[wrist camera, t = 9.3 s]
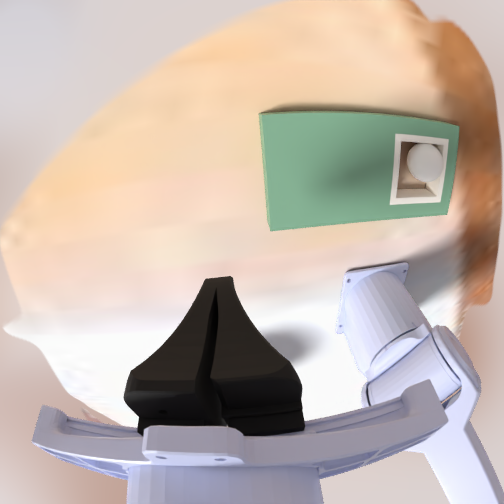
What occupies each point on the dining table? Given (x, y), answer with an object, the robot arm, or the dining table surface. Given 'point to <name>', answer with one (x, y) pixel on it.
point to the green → (348, 167)
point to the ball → (425, 162)
